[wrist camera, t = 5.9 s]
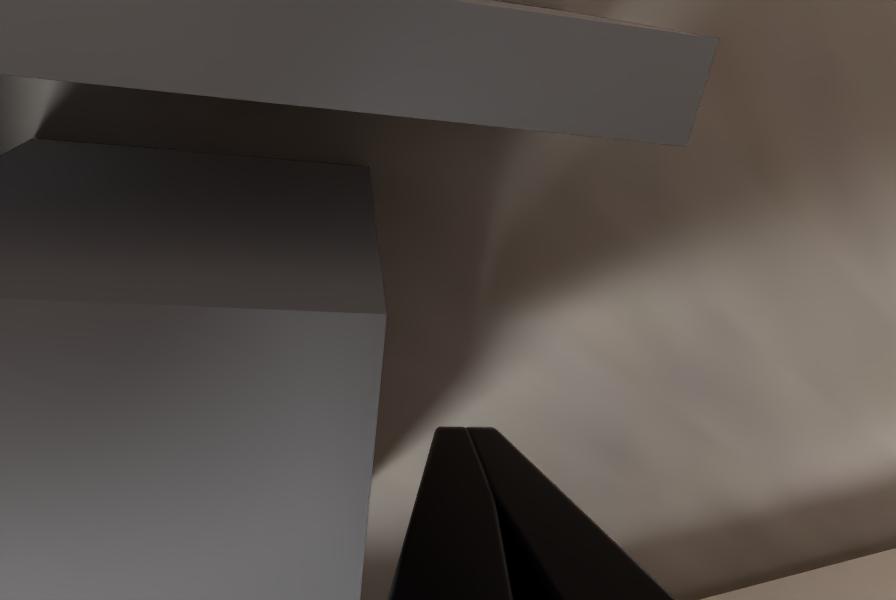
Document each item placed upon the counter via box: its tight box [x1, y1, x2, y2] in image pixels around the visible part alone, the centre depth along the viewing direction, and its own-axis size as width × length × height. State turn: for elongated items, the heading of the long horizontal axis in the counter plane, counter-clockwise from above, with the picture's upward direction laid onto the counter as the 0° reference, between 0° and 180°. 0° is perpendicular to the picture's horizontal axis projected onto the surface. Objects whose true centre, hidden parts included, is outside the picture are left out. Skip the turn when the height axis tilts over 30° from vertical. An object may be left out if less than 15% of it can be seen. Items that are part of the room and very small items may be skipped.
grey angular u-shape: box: [0, 0, 719, 147], centre depth 8 cm, size 13×9×4 cm
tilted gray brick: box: [0, 138, 387, 600], centre depth 7 cm, size 6×4×4 cm, turn 172°
